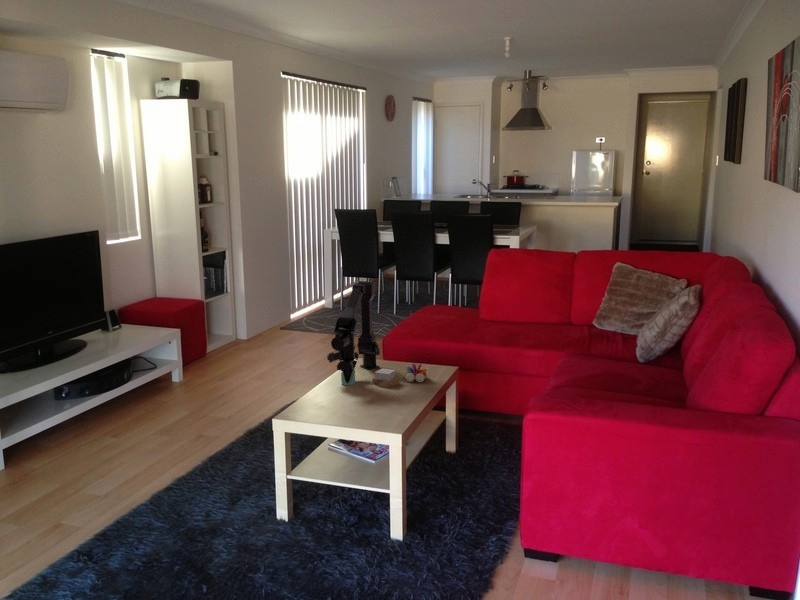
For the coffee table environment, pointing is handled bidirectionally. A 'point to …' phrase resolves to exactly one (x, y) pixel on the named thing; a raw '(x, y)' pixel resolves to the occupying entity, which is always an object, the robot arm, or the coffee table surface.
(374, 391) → the coffee table surface
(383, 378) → the tower mid
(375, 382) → the tower base
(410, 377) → the rainbow segmented toy
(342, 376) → the teal cube
